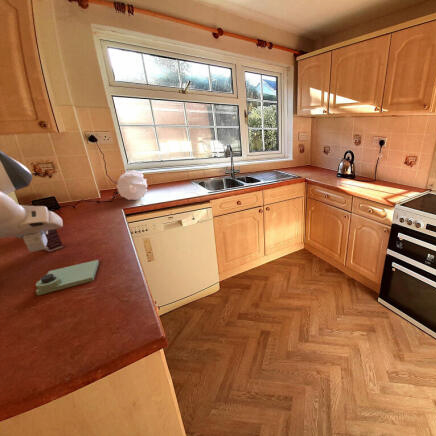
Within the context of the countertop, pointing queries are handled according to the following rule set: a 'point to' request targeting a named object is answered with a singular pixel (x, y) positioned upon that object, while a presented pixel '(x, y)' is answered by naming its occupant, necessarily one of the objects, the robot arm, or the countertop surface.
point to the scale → (69, 277)
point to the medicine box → (35, 241)
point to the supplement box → (53, 241)
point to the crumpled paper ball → (132, 185)
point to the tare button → (47, 278)
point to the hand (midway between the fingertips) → (34, 234)
